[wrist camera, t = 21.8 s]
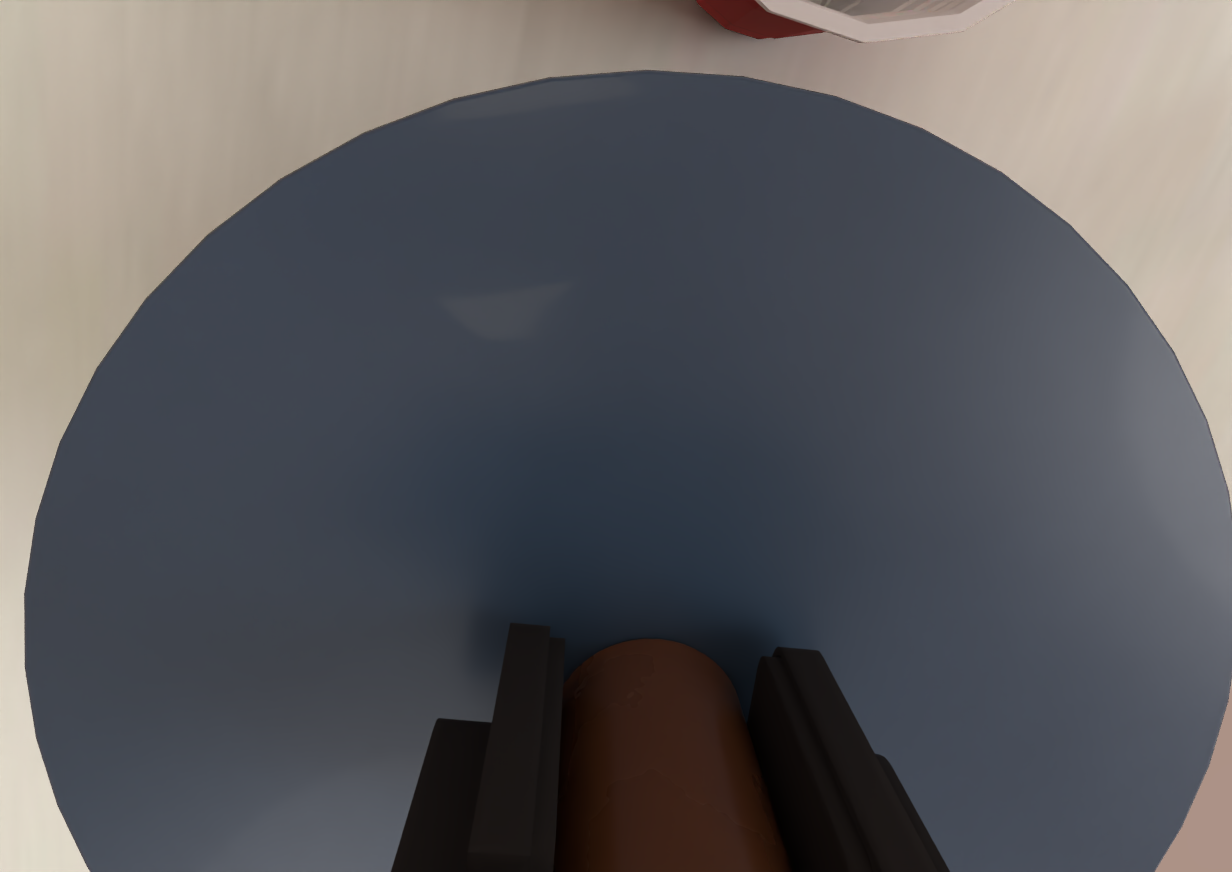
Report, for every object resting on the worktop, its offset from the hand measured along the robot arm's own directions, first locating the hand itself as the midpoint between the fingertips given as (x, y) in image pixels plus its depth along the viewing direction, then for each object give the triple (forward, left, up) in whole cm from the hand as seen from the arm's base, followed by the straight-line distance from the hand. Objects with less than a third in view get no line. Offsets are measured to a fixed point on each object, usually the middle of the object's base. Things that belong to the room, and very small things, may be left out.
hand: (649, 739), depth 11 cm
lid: (0, 0, -1) cm, 1 cm away
